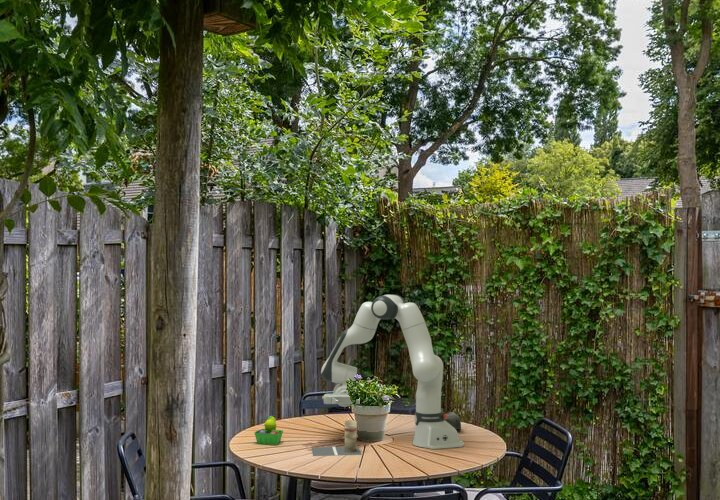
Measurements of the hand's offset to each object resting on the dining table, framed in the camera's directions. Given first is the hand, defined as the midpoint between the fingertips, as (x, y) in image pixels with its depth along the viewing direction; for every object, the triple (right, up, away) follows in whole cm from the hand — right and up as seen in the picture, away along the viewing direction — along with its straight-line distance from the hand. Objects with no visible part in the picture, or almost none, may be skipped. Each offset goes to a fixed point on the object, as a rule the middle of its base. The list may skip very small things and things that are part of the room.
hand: (347, 401), depth 282 cm
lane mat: (-4, -18, -14) cm, 23 cm away
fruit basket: (-35, -19, +4) cm, 40 cm away
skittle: (+1, -17, -13) cm, 22 cm away
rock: (+48, -22, +33) cm, 62 cm away
